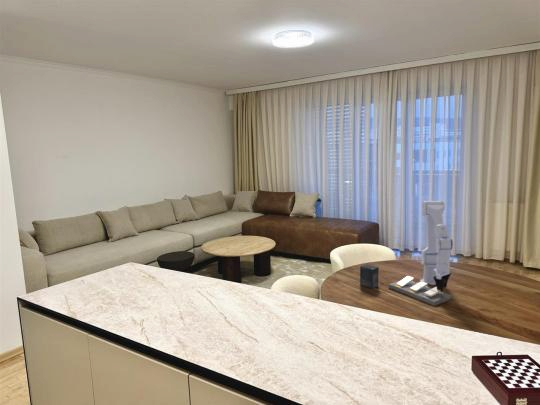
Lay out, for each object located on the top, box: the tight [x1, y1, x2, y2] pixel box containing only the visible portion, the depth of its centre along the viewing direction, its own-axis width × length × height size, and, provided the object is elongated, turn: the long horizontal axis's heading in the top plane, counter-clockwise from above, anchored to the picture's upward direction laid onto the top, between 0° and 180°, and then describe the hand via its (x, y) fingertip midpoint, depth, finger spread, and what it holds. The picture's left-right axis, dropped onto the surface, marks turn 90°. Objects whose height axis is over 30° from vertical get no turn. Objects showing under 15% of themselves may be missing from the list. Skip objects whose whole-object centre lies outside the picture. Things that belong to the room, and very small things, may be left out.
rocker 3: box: [424, 286, 440, 297], centre depth 171 cm, size 9×4×1 cm, turn 121°
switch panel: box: [388, 279, 452, 307], centre depth 178 cm, size 13×26×2 cm, turn 32°
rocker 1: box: [397, 275, 414, 287], centre depth 185 cm, size 9×4×1 cm, turn 121°
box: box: [359, 263, 379, 289], centre depth 189 cm, size 8×6×11 cm
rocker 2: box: [410, 281, 429, 292], centre depth 178 cm, size 9×4×1 cm, turn 121°
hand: (441, 289), depth 174 cm, fingers open, 6 cm apart
